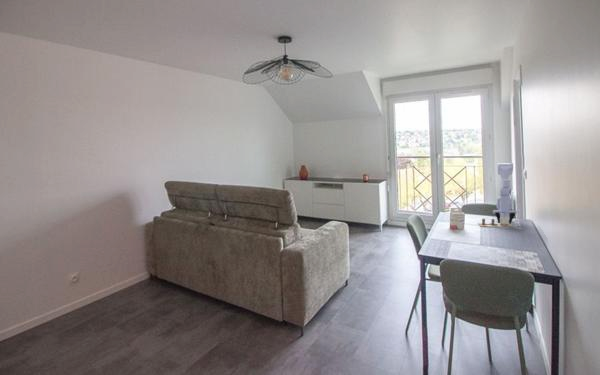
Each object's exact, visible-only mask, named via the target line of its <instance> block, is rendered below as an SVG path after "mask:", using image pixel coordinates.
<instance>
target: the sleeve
mask: <svg viewBox="0 0 600 375" xmlns="http://www.w3.org/2000/svg"><path fill="white" fill-rule="evenodd" d="M500 225H504V226H503V227H509V226H508V225H509V218H506V217H500Z"/></svg>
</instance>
